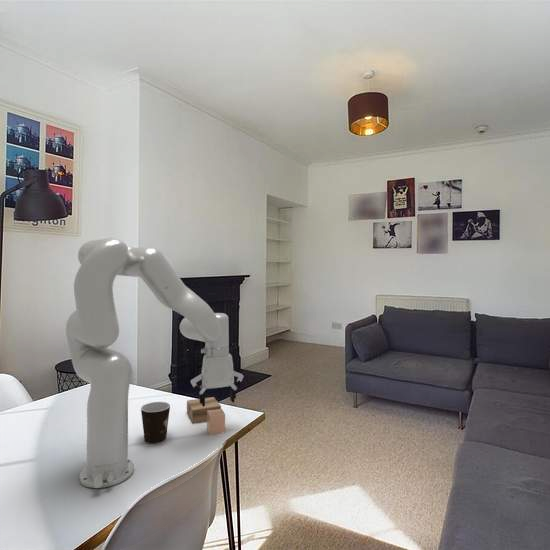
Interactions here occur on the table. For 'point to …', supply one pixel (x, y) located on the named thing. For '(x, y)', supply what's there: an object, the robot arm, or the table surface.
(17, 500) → the table surface
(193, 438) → the table surface
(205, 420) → the walnut box
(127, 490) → the table surface
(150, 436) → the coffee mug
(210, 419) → the terracotta cube
